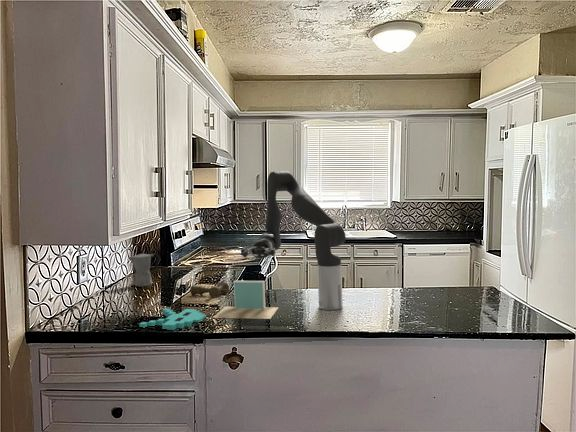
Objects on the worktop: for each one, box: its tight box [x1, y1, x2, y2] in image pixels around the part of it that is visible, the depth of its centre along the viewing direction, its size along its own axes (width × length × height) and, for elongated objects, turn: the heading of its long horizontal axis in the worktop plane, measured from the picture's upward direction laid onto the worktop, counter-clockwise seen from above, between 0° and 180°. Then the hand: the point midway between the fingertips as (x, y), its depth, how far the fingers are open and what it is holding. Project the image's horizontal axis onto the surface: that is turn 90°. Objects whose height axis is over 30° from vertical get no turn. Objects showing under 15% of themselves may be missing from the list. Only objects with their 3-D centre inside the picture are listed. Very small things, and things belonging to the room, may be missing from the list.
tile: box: [233, 280, 266, 310], centre depth 180 cm, size 12×2×11 cm, turn 80°
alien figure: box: [138, 307, 207, 331], centre depth 171 cm, size 20×2×20 cm
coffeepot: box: [128, 249, 161, 288], centre depth 236 cm, size 15×9×18 cm, turn 112°
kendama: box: [189, 281, 233, 299], centre depth 208 cm, size 6×10×20 cm
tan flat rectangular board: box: [212, 306, 279, 320], centre depth 176 cm, size 22×15×1 cm
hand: (254, 255), depth 189 cm, fingers open, 8 cm apart
